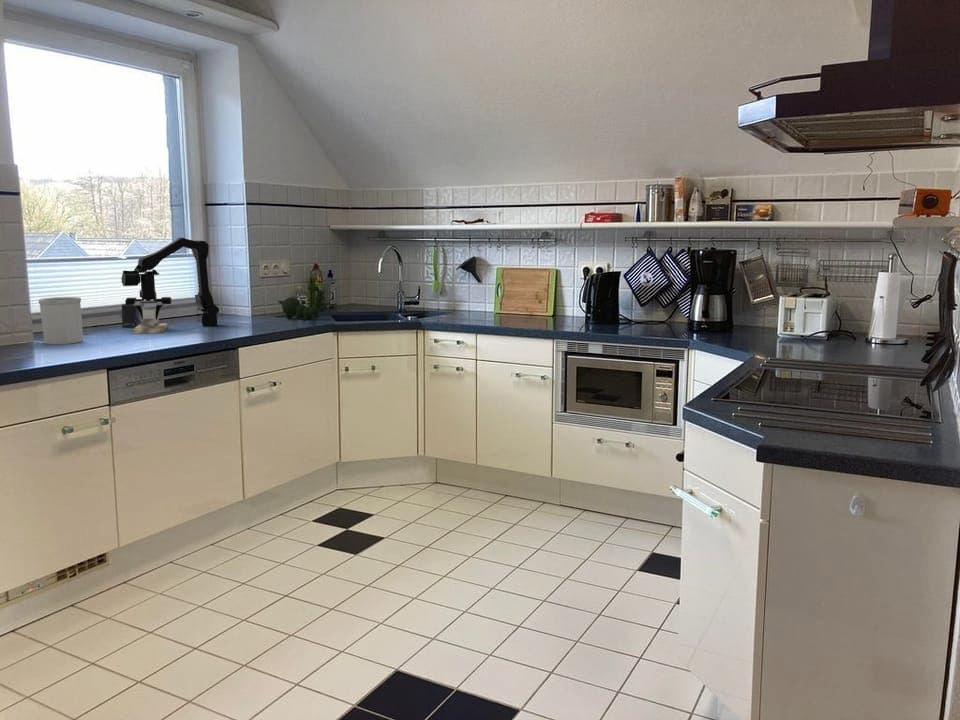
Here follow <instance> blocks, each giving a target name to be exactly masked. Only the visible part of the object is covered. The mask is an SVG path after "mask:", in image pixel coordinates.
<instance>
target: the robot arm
mask: <svg viewBox="0 0 960 720" xmlns="http://www.w3.org/2000/svg"><path fill="white" fill-rule="evenodd" d="M182 248H186V249H190V250H191V251H192V254H193V257H194V259H195V263H196V271H197V273H196V274H197V283H198V284H197V285H198V292H197V294H194V298H195V302H194V303H195V304H196V306H197V308H199V309H200V311H201V312H202V315H201V325H202V327H218V325H219V323H218V314H219V313H220V312H219V311H220V308H219V307H218V306H217V305H216V304H215V302H214V298H213V296H212V294H211V291H210V285H209V284H210V283H209V276H208V275H209V273H208V262H207V259H208V256H209V248H210V246H209V244H208V242H207V241H205V240H193V239H187V238H185V237H178V238H177V239H176V240H174V241H172V242H170V243H169V244H167V245H165V246H164V247H162V248H161V249H159V250H157V251H156V252H153V253H150V254H147V255H143V256H141V257H140V258H139V259H138V261H137V265H136V267H135V268H134V269H133V270H122V274H121V278H120V279H121V284H122V286H123V287H137V286H139V285H140V289H139V297H140V298H137V297H126V298H125V302H124V303H125V304H126V305H133V304H134V307H136V308H137V309H138V311H139V312H140V315H141V317H142V319H143V307H142V304H141V303H144V304H155V309H156V320H157V318H158V317H159V314H160V311H161V309H162V307H164V306H165V305H172V304H173V300H172V297H171V296H162V297H161V298H158V297H157V291H156V281H155V276H158V275H160V273H159V272H158V271H157V270H156V269H155V268H156V267H157V266H158V265H159V264H160V262H161V261H163V260H164V259H165V258H168V257H169V256H170V255H172V254H175V253H176V252H177V251H179V250H180V249H182Z"/></svg>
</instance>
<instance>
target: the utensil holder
mask: <svg viewBox="0 0 960 720" xmlns="http://www.w3.org/2000/svg"><path fill="white" fill-rule="evenodd" d="M81 298H82V297H79V296H78V297H77V296H54V297H53V296H51V297H42V298H39V299H38V304H39V311H40V317H41V327H42V328H41V329H42V334H43V340H44V341H43V342H44V343H45V344H46V345H47V344H48V345H68V344H76V343H80V342H83V341H84V337H83V336H84V335H83V320H82V318H83V317H82V307H81V302H82V299H81Z"/></svg>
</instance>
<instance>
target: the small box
mask: <svg viewBox="0 0 960 720" xmlns="http://www.w3.org/2000/svg"><path fill="white" fill-rule="evenodd" d="M141 304H142V307H143V310H144V309H145V303H141ZM121 319H122V321H121V323H122V328H136V327H137V326H138V325H139V324H141V320H142V317H141V315H140V312H139V311H138V309H137V308H136V307H134V304H133V305H126V304H121Z"/></svg>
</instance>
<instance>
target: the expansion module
mask: <svg viewBox="0 0 960 720" xmlns="http://www.w3.org/2000/svg"><path fill="white" fill-rule="evenodd" d="M143 319H155V324H156V323H157V320H156V308H144V310H143Z"/></svg>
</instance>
